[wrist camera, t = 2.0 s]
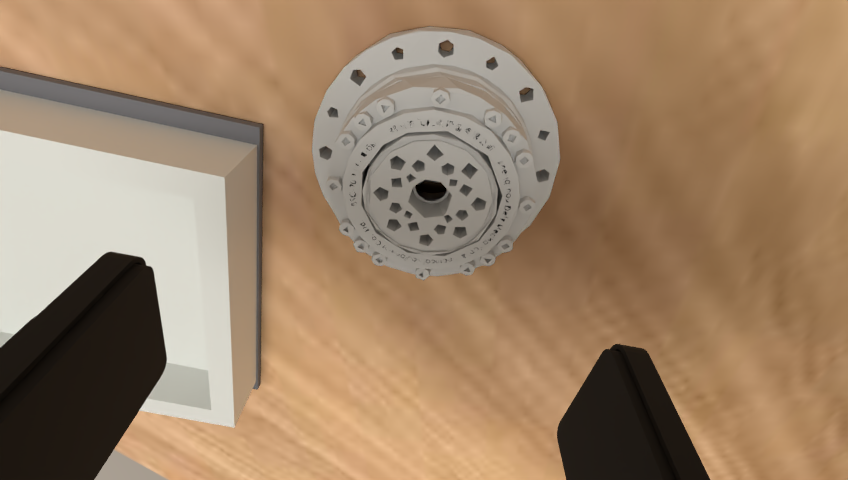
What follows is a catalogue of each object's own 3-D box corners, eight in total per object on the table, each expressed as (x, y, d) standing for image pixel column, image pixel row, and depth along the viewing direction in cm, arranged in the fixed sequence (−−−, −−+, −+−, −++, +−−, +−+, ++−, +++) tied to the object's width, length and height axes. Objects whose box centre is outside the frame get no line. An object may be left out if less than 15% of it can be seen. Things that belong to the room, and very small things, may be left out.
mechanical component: (598, 168, 20) (456, -40, 16) (631, 220, 16) (454, -35, 12) (421, 280, 24) (273, 134, 20) (415, 342, 20) (230, 177, 16)
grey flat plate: (262, 124, 19) (259, 127, 19) (260, 384, 28) (257, 389, 28) (-125, 39, 18) (-136, 41, 18) (2, 336, 28) (-4, 341, 27)
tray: (257, 144, 19) (224, 177, 17) (256, 380, 28) (234, 427, 25) (-124, 62, 18) (-223, 83, 16) (-6, 331, 27) (-58, 375, 24)
